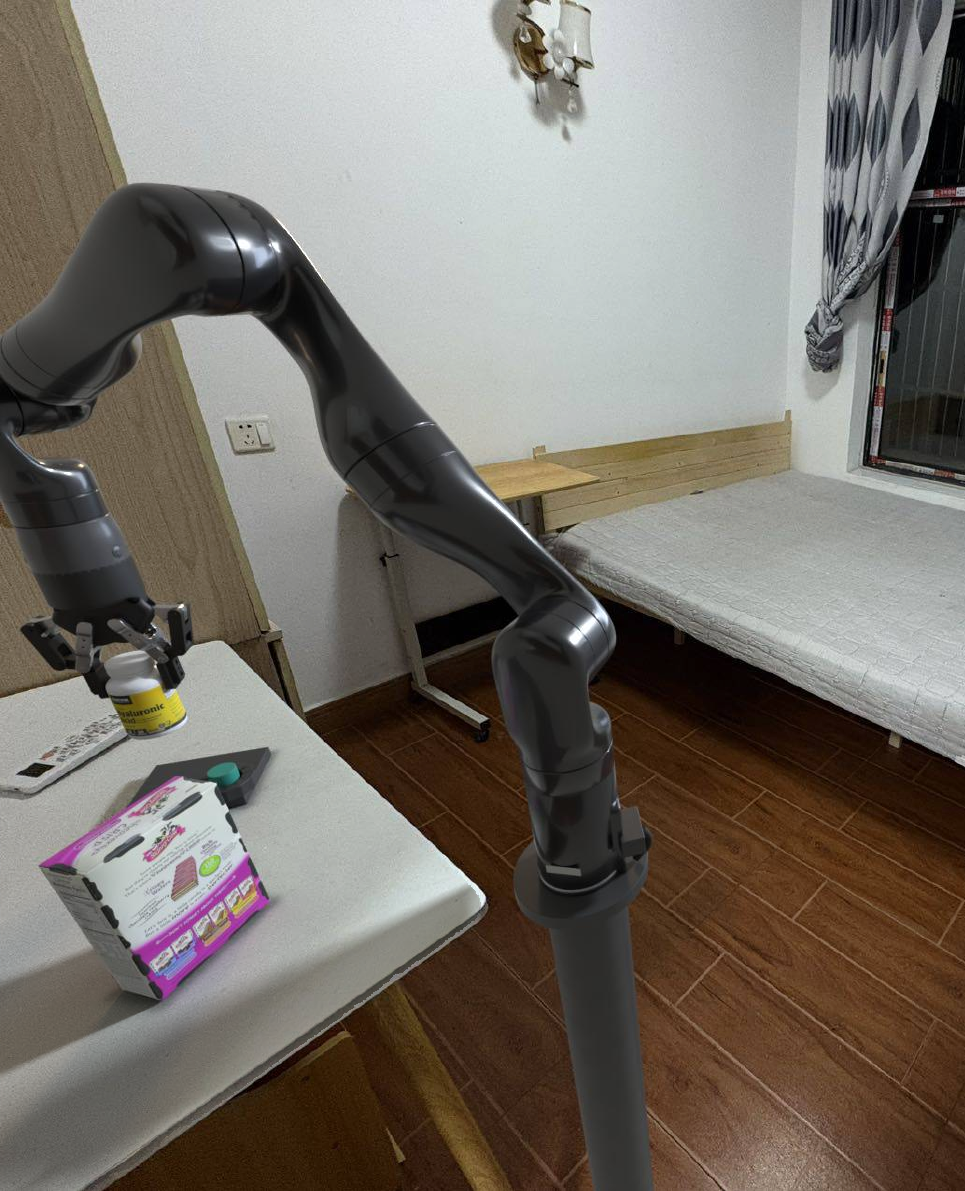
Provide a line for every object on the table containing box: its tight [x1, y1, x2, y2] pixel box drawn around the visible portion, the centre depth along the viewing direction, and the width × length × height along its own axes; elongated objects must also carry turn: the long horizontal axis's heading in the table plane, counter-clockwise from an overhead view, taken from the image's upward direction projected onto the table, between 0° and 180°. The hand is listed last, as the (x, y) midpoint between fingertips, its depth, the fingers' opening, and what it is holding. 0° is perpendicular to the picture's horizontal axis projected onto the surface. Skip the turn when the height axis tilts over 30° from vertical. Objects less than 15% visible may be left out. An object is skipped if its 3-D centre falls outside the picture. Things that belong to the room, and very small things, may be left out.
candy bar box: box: [38, 776, 271, 1001], centre depth 60 cm, size 11×5×16 cm, turn 170°
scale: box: [124, 746, 272, 809], centre depth 81 cm, size 13×11×3 cm
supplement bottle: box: [103, 650, 188, 741], centre depth 76 cm, size 5×5×10 cm
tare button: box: [207, 762, 240, 788], centre depth 80 cm, size 3×3×2 cm
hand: (142, 689), depth 76 cm, fingers closed on supplement bottle, 5 cm apart
